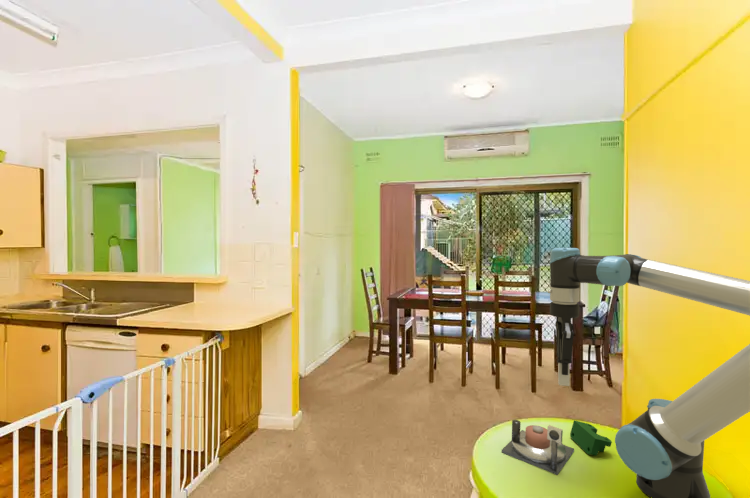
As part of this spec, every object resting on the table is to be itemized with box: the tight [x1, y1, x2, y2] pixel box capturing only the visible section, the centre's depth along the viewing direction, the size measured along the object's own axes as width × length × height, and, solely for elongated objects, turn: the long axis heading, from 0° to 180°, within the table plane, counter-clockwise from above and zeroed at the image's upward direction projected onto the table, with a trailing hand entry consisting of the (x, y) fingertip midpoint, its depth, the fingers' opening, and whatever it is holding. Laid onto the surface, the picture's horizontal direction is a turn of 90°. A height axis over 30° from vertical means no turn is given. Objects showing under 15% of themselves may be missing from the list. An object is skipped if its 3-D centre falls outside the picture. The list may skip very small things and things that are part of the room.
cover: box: [525, 424, 550, 449], centre depth 119 cm, size 7×7×4 cm
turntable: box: [511, 419, 566, 464], centre depth 118 cm, size 15×15×8 cm
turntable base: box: [501, 424, 575, 476], centre depth 118 cm, size 16×16×12 cm
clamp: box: [569, 420, 613, 457], centre depth 121 cm, size 12×6×9 cm, turn 177°
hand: (563, 384), depth 110 cm, fingers closed
